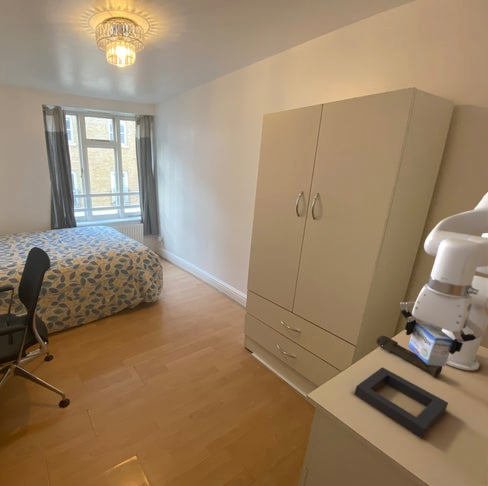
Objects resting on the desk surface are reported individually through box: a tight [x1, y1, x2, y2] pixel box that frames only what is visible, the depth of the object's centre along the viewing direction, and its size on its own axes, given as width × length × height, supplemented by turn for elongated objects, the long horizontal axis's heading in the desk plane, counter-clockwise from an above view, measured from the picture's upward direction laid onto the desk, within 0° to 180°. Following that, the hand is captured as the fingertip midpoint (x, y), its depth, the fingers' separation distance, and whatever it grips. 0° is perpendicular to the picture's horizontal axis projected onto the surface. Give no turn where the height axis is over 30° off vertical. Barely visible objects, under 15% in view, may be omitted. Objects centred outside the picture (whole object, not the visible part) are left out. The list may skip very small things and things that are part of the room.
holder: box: [354, 366, 449, 439], centre depth 80 cm, size 16×16×3 cm
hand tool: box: [375, 335, 443, 378], centre depth 98 cm, size 19×4×5 cm, turn 21°
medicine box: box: [407, 321, 454, 367], centre depth 77 cm, size 8×4×9 cm, turn 170°
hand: (430, 342), depth 76 cm, fingers closed on medicine box, 8 cm apart
